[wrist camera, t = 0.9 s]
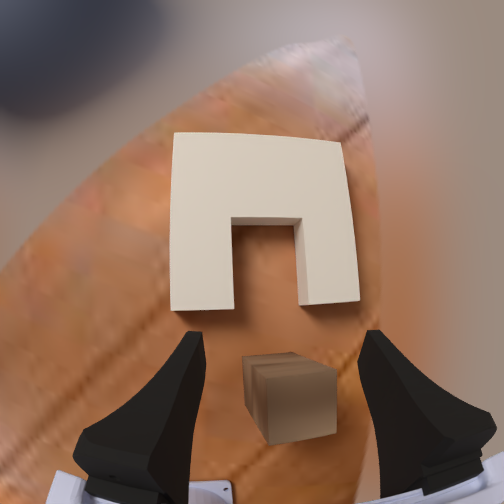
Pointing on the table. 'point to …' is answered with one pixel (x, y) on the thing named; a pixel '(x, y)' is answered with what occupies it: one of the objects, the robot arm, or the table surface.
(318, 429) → the peg
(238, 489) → the table surface
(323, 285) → the socket block
